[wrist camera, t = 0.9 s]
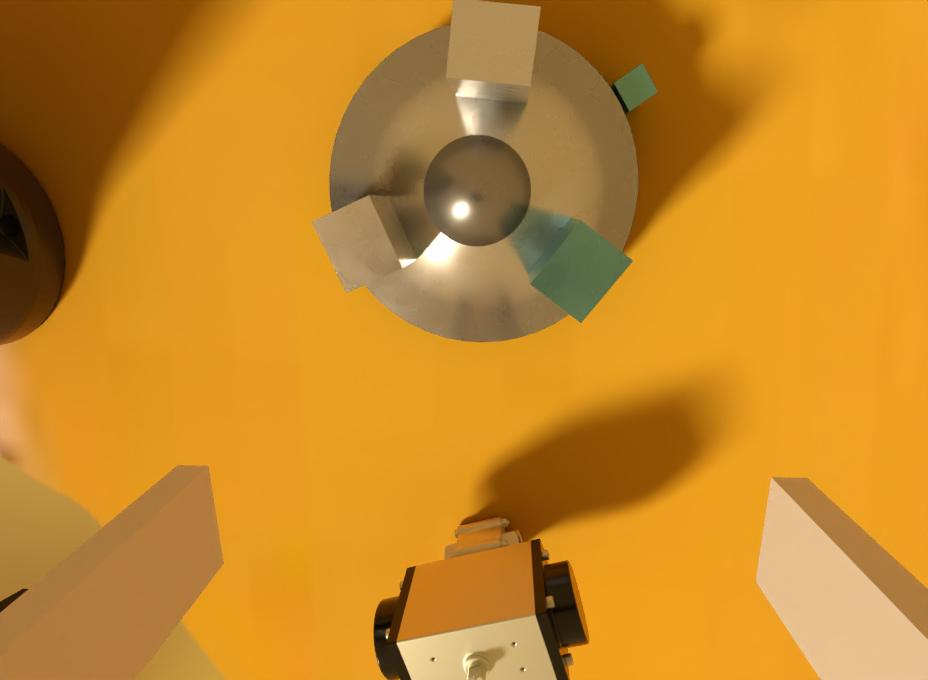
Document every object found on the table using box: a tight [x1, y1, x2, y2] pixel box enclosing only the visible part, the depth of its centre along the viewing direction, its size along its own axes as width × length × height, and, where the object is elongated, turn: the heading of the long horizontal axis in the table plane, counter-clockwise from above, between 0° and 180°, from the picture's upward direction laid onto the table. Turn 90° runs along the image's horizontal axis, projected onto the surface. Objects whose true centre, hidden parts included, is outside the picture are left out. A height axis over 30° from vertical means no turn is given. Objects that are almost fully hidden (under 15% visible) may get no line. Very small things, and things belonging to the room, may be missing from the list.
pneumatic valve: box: [374, 516, 589, 680], centre depth 33 cm, size 6×12×12 cm, turn 109°
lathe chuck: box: [312, 0, 638, 342], centre depth 26 cm, size 16×16×6 cm
